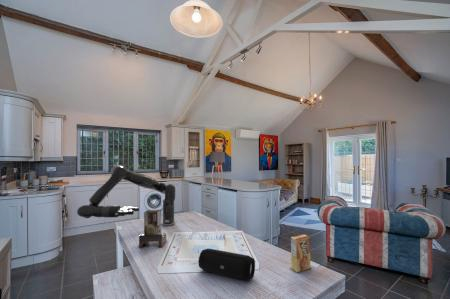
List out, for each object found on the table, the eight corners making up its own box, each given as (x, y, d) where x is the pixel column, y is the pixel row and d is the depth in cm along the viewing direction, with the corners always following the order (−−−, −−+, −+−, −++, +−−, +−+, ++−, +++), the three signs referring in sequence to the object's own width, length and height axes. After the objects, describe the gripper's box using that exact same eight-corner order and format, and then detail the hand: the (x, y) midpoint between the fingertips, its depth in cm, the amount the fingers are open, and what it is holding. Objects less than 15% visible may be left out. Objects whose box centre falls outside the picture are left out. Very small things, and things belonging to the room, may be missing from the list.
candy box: (304, 264, 109) (303, 233, 109) (311, 268, 105) (310, 236, 106) (291, 268, 105) (290, 236, 105) (297, 272, 101) (296, 239, 102)
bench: (145, 241, 142) (145, 229, 142) (166, 241, 142) (166, 229, 142) (138, 247, 132) (139, 235, 132) (161, 247, 132) (161, 234, 132)
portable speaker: (197, 273, 101) (197, 252, 102) (207, 264, 110) (207, 244, 111) (249, 286, 91) (249, 262, 91) (255, 274, 100) (255, 252, 100)
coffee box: (161, 234, 140) (161, 209, 140) (157, 238, 133) (157, 212, 134) (148, 234, 141) (148, 209, 141) (143, 238, 134) (143, 211, 135)
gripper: (105, 208, 133) (131, 207, 133) (116, 203, 147) (140, 202, 147) (105, 220, 132) (131, 220, 133) (116, 214, 147) (140, 213, 147)
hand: (136, 210), depth 140 cm, fingers open, 8 cm apart
